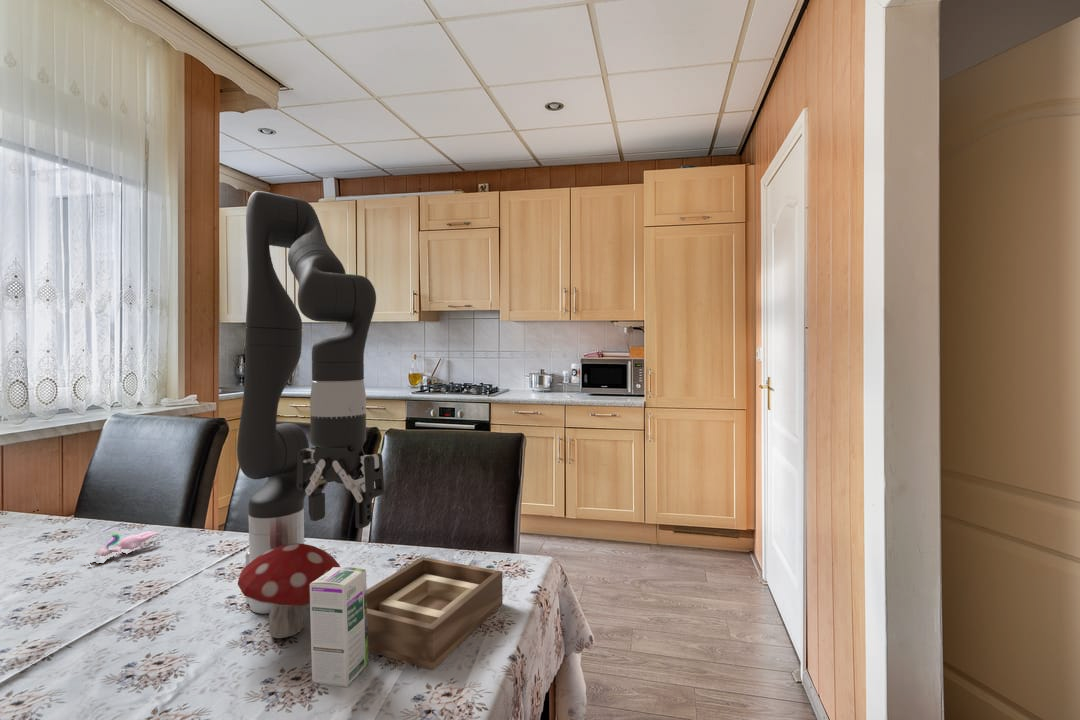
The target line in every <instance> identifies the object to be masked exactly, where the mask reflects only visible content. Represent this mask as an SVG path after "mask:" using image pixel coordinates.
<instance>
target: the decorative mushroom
mask: <svg viewBox="0 0 1080 720" xmlns="http://www.w3.org/2000/svg"><path fill="white" fill-rule="evenodd" d="M333 567H341V565H340V563H338V561H337V560H336V559H335V558H334V557H333V556H332V555H331V553H329V552H327V551H325V550H324V549H321V548H319V547H317V546H314V545H312V544H311V545H310V544H306V543H304V544H289V545H283V546H280V547H277V548H274V549H272V550H269V551H267V552H265V553H263V554H261V555H260V556H258V557H257V558H256V559H254V560H253V561H252V562H250V563H249V564H248V565H247V566H246V565H245V566H244V567H243V568H242V570H241V572H240V573H239V578H238V581H237V585H238V588H239V589H240V591H241V593H242V594H243V596H244V597H245V598H246V597H248V598H251V599H253V600H256V601H258V602H261V603H267V604H272V608H271V612H270V613H269V616H268V634H269V635H270V637H272V638H276V639H284V638H288V637H292V636H295V635H296V634H297V633H299V632H300V631H301V630H302V629H303V617H302V615H303V614H302V608H301V607H304V606H310V583H311V582H313V581H315V580H316V579H318V578H319V577H321V576H322V575H324V574H325V573H327V572H328V571H330V570H331V569H332V568H333Z"/></svg>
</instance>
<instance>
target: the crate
mask: <svg viewBox="0 0 1080 720" xmlns="http://www.w3.org/2000/svg"><path fill="white" fill-rule="evenodd" d="M502 605H503V571H501V570H495V569H490V568H485V567H479V566H475V565H474V566H473V565H468V564H462V563H459V562H452V561H446V560H441V559H437V558H430V557H425V556H421V557H419V558H418V559H416V560H415V561H412V562H411V563H408V565H405V566H404V567H403V568H401V569H399V570H398V571H396V572H394V573H392V574H391V575H389V576H388V577H386V578H384V579H382V580H381V581H379V582H377V583H375V584H374V585H372V586H370V587H369V588H368V589H367V625H368V653H371V654H376V655H379V656H382V657H386V658H391V659H393V660H397V661H401V662H403V663H408V664H411V665H415V666H417V667H422V668H425V669H429V670H432V671H434V670H435V669H436V668H437V667H438V666H439V665H441V663H442V662H444V660H445V659H446V658H448V656H449V655H451V653H453V652H454V651H455V650H456V649H457V648H458V647H459V646H460V645H461V644H462V643H463V642H464V641H465V640H466V639H467V638H469V636H471V634H473V633H474V632H475V631H476V630H477V629H478V628H479V627H480V626H481V625H482V624H483V623H484V622H485V621H487V619H488V618H490V617H491V615H492V614H494V613H495V612H496V611H497V610H498V609H499V608H500V607H501V606H502Z"/></svg>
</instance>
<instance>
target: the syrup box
mask: <svg viewBox="0 0 1080 720" xmlns="http://www.w3.org/2000/svg"><path fill="white" fill-rule="evenodd" d="M309 611H310V612H309V613H310V615H309V616H310V617H309V618H310V643H311V644H310V649H311V654H310V655H311V682H313V683H316V684H320V685H328V686H333V687H334V686H336V687H341V688H343V687H345V688H347V687H349V685H350V684H351V683H352V682H353V681H354V679H356V678H357V677H358V675H359V674H360V673H361V672H362V671H363V670H364V669H365V668H366V666H367V665H369V652H368V625H367V570H366V569H365V568H364V569H363V568H357V567H350V566H340V567H333V568H332V569H331V570H330V571H328V572H327V573H325V574H324V575H322V576H321V577H319V578H318V579H316V580H315V581H313V582H311V583H310V604H309Z"/></svg>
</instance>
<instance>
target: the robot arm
mask: <svg viewBox="0 0 1080 720" xmlns="http://www.w3.org/2000/svg"><path fill="white" fill-rule="evenodd" d="M245 214H246V215H245V228H246V229H245V232H246V233H245V234H246V255H247V299H246V313H245V314H246V315H245V336H244V337H245V338H244V340H245V341H244V351H245V352H244V353H245V356H244V358H245V359H244V361H245V363H244V382H243V396H242V406H241V412H240V414H241V415H240V420H239V425H238V433H237V441H236V442H237V444H236V455H237V457H236V458H237V461H238V466H239V468H240V470H241V472H242V473H243V475H244V476H246V477H247V478H249V480H262V479H266V478H267V480H266V482H265V483H264V485H263V486H262V487H261V488H260V489H259V490H258V491H257V492H255V493H254V494H253V495H252V496H251V497H250V499H249V500H248V552H246V554H245V566H247V565H248V564H249V563H250V562H252V561H253V560H254V559H256V558H257V557H258V556H260V555H261V554H263V553H265V552H267V551H269V550H272V549H274V548H277V547H280V546H283V545H289V544H305V523H304V522H305V517H304V515H305V513H304V512H305V509H304V508H305V507H304V505H305V498H306V496H307V497H308V515H309V520H310V521H313V522H317V521H320V520H323V519H324V518H325V517H326V493H325V492H324V490H325V489H326V487H327V486H328V484H329V483H331V482H332V483H333V482H335V483H337V484H343V485H344V486H345V489H347V490H348V491H350V492H351V494H352V495H353V497H354V499H355V501H356V502H354V503H355V506H354V507H355V510H354V512H355V513H354V514H355V519H354V522H355V524H354V525H355V528H357V529H364V528H365V527H366V528H367V527H368V526H370V523H371V522H372V519H373V499H375V498H377V497H380V496H382V495H384V494H385V481H384V480H385V479H384V464H383V461H384V460H383V455H382V453H380V452H379V453H374V454H365V452H364V448H363V447H364V444H365V443H366V441H367V396H366V395H367V394H366V393H367V392H366V388H365V376H364V375H365V370H364V369H365V364H364V363H365V360H364V359H365V357H364V356H365V355H364V354H365V348H366V342H367V339H368V334H369V331H370V330H369V329H370V325H371V322H372V319H373V316H374V312H375V308H376V305H377V304H376V303H377V294H376V290H375V287H374V285H373V283H372V282H371V281H370V280H369V279H368V277H366V276H363V275H360V274H358V275H357V274H347V273H346V269H345V267H344V265H343V263H342V262H341V261H340V259H339V258H338V256H337V255H336V254H335V252H334V251H333V250H332V248H330V246H329V244H328V242H327V239H326V236H325V233H324V231H323V230H324V229H323V228H322V225H321V223H320V220H319V217H318V214H317V213H316V210H315V209H314V207H313V206H312V205H311V203H309V202H308V201H306V200H303V199H301V198H296V197H292V196H287V195H283V194H278V193H273V192H268V191H261V190H255V191H254V192H252V193H251V194H250V196H249V197H248V201H247V204H246V213H245ZM270 246H272V247H279V248H286V249H289V250H288V253H287V254H288V255H287V262H288V267H289V269H290V271H291V272H292V274H293V276H294V277H295V279H296V281H297V284H298V289H297V307H298V308H299V310H298V309H297V307H296V305H295V304H294V302H293V300H292V298H291V297H290V295H289V294H288V292H287V291H286V289H285V287H284V286H283V284H282V283H281V281H280V279H279V277H278V274H277V272H276V270H275V268H274V267H275V266H274V265H273V261H272V256H271V249H270ZM299 311H300V312H299ZM300 313H301V314H302V315H303V316H304V317H306V318H307V319H309V320H311V321H314V322H323V323H325V322H326V323H327V322H329V323H346V324H345V328H344V330H343V331H342V333H341V334H340V335H338V336H335V337H329V338H323V339H320V340H318V341H315V342H314V343H313V345H312V347H311V388H310V398H309V400H310V401H309V402H310V404H309V407H310V408H309V409H310V410H309V411H310V415H309V416H310V423H309V424H310V444H311V446H313V447H310V444H309V439H308V437H307V434H306V432H305V431H304V429H303V428H302V427H301V426H300V425H298V424H297V423H292V422H284V423H278V424H277V421H278V420H277V417H278V408H279V403H280V399H281V396H282V393H283V392H284V390H285V388H286V386H287V384H288V383H289V380H290V379H291V377H292V375H293V373H294V372H295V370H296V368H297V367H298V363H299V361H300V359H301V357H302V356H301V355H302V345H303V344H302V342H303V341H302V340H303V338H302V337H303V322H302V317H301V315H300ZM356 478H357V479H356ZM245 598H246V600H245V602H246V605H247V604H249V605H248V606H249V609H250V611H251V610H252V611H251V612H253V613H256V614H264V615H265V614H267V615H268V614H270V612H271V608H272V604H267V603H261V602H258V601H256V600H253V599H251V598H248V597H245Z"/></svg>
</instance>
